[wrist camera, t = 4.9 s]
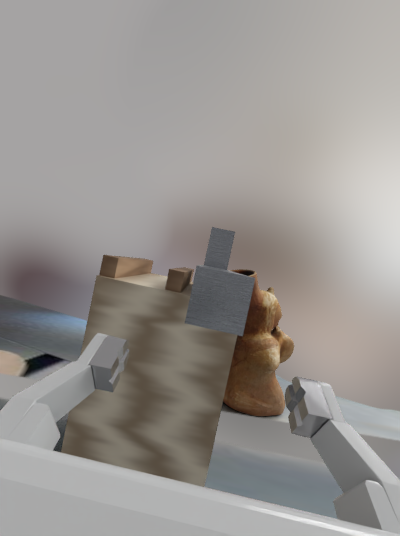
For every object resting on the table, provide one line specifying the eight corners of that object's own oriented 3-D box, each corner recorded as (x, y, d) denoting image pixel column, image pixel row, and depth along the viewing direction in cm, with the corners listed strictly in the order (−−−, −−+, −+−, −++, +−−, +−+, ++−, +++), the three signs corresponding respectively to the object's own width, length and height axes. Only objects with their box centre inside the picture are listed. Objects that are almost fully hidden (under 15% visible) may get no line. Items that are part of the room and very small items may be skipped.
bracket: (220, 290, 31) (232, 235, 31) (242, 336, 11) (276, 179, 11) (200, 285, 31) (211, 230, 31) (184, 323, 11) (217, 167, 11)
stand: (194, 449, 34) (231, 277, 34) (184, 576, 20) (248, 286, 20) (109, 428, 35) (144, 258, 34) (43, 538, 21) (100, 254, 20)
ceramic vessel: (298, 420, 47) (328, 286, 47) (210, 433, 38) (246, 268, 38) (253, 379, 62) (276, 276, 61) (182, 381, 53) (207, 261, 52)
